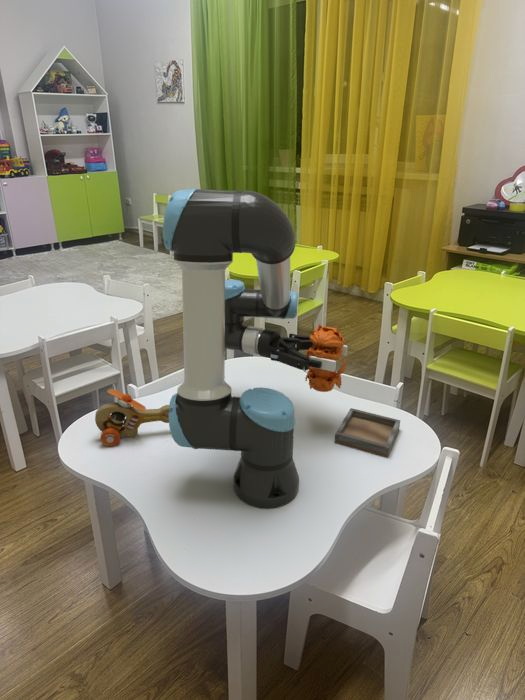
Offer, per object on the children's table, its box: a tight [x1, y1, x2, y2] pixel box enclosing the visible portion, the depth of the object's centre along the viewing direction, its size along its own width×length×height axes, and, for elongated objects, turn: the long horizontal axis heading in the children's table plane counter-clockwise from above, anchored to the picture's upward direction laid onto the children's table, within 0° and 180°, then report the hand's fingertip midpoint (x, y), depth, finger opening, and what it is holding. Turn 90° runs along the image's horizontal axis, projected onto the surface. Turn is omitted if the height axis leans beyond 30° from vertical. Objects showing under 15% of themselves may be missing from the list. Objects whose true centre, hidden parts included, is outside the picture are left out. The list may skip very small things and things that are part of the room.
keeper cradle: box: [334, 407, 401, 459], centre depth 128 cm, size 14×14×3 cm
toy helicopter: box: [94, 388, 169, 448], centre depth 125 cm, size 8×21×14 cm, turn 102°
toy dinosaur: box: [304, 324, 347, 393], centre depth 124 cm, size 11×11×18 cm
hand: (341, 358), depth 122 cm, fingers closed on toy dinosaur, 9 cm apart
